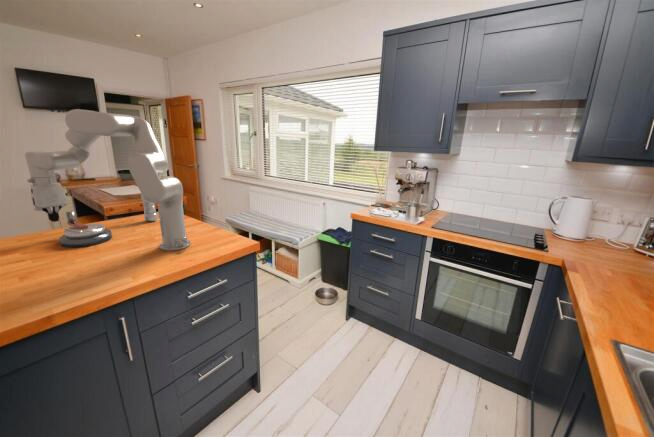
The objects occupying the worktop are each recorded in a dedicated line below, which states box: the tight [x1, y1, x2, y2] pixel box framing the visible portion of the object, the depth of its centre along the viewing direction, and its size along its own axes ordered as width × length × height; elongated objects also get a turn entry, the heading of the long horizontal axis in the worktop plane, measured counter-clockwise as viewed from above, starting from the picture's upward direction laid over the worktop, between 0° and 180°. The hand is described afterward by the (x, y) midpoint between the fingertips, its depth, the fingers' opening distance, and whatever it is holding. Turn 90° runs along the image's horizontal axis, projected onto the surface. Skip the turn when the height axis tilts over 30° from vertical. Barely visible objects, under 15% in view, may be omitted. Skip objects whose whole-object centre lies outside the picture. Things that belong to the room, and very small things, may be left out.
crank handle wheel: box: [63, 210, 106, 239], centre depth 125 cm, size 14×20×9 cm
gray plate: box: [58, 228, 113, 249], centre depth 125 cm, size 18×18×3 cm
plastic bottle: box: [140, 193, 159, 222], centre depth 154 cm, size 6×7×20 cm
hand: (54, 221), depth 122 cm, fingers closed
